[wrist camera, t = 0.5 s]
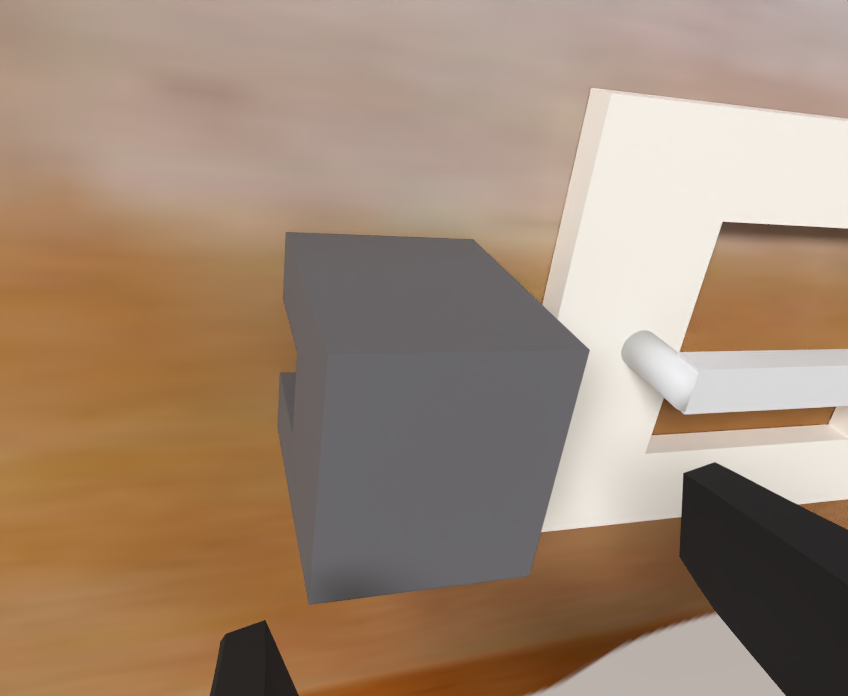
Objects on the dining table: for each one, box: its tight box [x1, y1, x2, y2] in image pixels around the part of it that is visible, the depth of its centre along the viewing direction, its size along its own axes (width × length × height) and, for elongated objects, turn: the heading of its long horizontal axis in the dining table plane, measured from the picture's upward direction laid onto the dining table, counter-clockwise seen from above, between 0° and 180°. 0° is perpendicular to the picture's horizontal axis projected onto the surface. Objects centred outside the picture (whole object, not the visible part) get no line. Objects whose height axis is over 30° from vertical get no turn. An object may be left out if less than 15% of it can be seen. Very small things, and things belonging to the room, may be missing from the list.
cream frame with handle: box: [541, 88, 848, 532], centre depth 22 cm, size 18×14×4 cm
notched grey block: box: [278, 232, 590, 605], centre depth 16 cm, size 6×5×6 cm
